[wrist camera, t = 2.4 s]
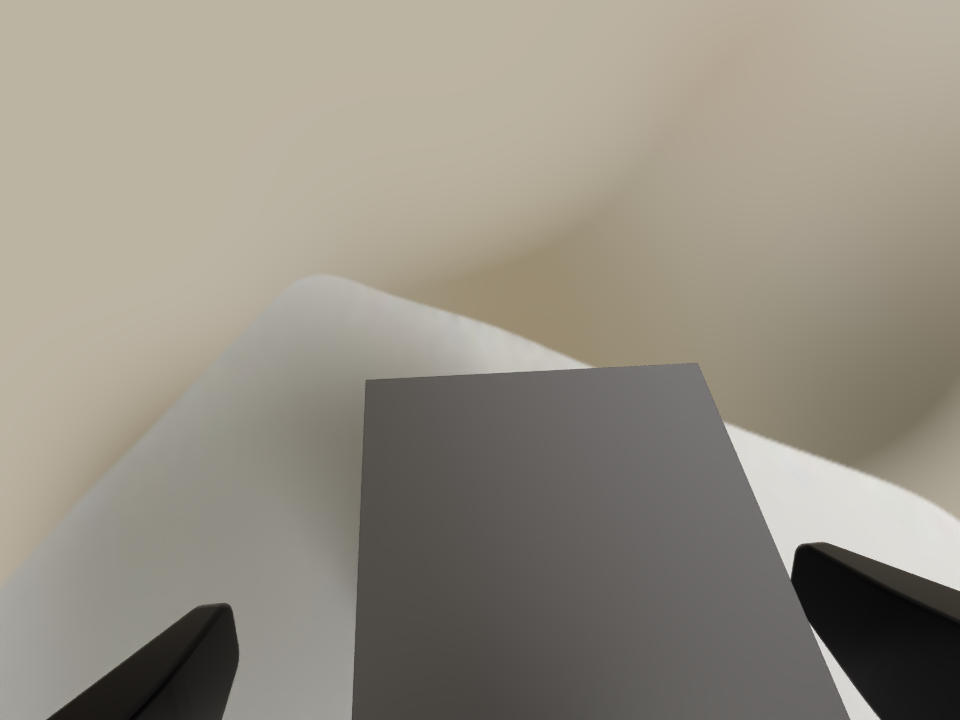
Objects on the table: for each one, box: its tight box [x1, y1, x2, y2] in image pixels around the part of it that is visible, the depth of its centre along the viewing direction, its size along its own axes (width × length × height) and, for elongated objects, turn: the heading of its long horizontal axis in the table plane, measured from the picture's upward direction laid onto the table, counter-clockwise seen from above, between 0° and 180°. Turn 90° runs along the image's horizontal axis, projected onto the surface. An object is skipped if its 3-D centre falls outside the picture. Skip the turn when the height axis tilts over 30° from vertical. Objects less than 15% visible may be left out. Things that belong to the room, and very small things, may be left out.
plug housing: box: [352, 363, 850, 720], centre depth 9 cm, size 4×4×11 cm
